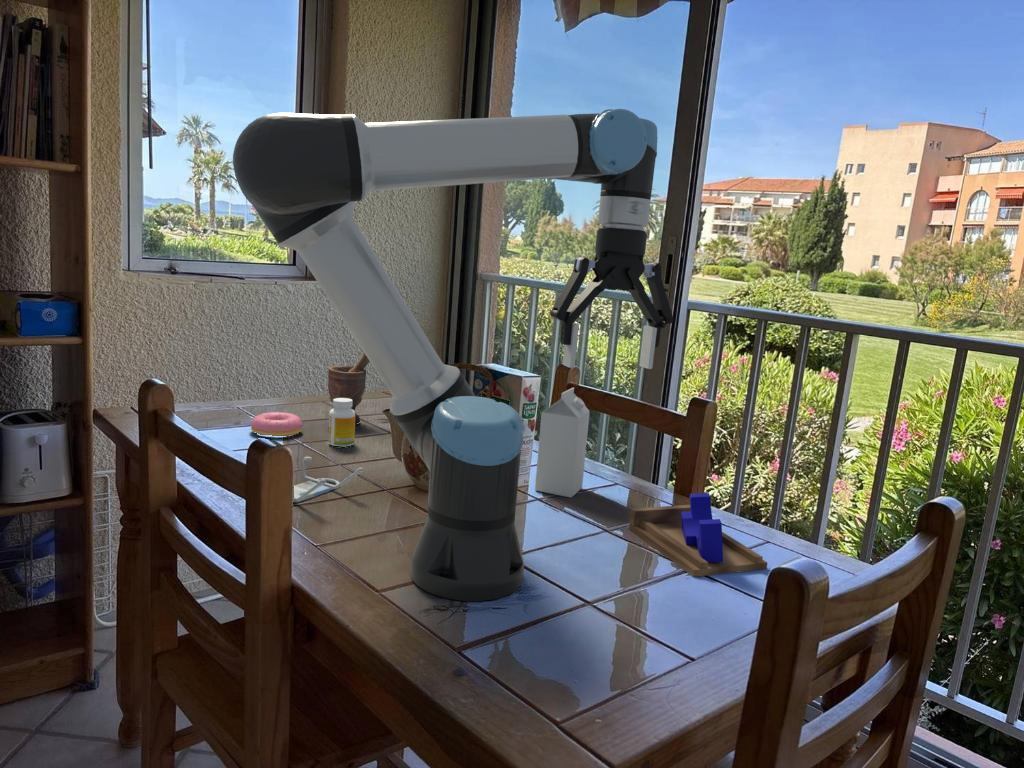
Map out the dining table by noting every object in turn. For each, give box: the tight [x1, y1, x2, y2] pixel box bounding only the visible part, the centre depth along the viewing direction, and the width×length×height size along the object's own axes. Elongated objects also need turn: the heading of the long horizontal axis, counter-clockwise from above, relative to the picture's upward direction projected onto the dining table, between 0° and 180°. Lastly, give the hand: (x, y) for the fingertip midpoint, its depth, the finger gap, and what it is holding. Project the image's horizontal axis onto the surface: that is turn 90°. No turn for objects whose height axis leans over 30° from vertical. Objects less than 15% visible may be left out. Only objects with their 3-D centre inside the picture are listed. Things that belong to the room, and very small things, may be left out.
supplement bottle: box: [327, 398, 356, 447], centre depth 155 cm, size 5×5×10 cm
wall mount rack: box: [293, 456, 364, 503], centre depth 124 cm, size 16×14×6 cm
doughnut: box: [249, 411, 304, 436], centre depth 161 cm, size 11×11×4 cm
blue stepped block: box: [681, 492, 723, 562], centre depth 113 cm, size 12×4×6 cm, turn 174°
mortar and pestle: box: [327, 352, 371, 424], centre depth 173 cm, size 12×9×20 cm
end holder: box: [628, 504, 768, 578], centre depth 115 cm, size 13×18×4 cm
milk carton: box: [534, 387, 590, 499], centre depth 137 cm, size 7×7×19 cm
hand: (607, 367), depth 115 cm, fingers open, 13 cm apart
